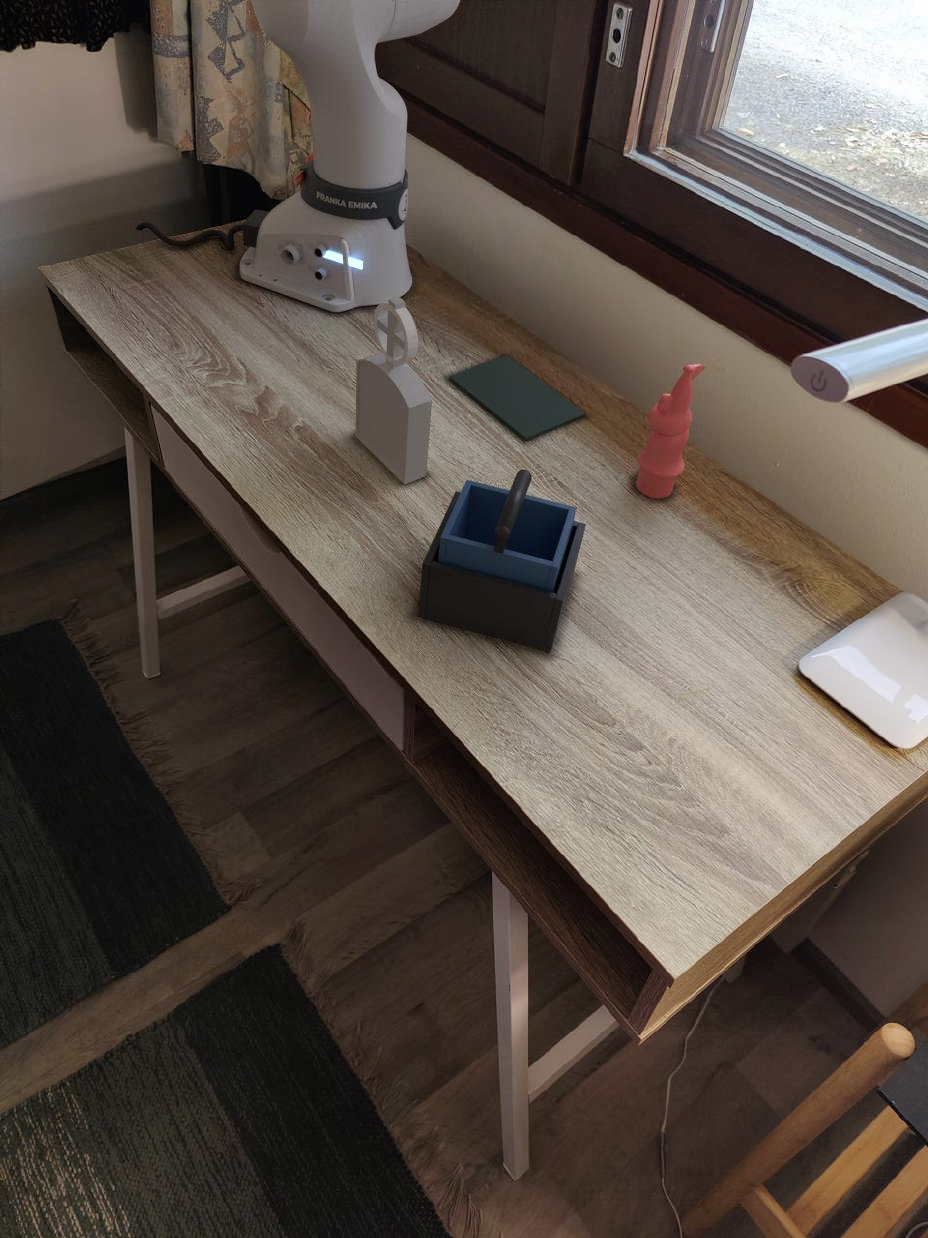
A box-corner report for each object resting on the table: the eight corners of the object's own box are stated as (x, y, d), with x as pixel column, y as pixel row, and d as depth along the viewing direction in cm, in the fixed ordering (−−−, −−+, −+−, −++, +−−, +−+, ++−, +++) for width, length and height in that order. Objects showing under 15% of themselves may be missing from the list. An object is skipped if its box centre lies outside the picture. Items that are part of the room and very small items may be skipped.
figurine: (648, 464, 105) (684, 343, 94) (686, 487, 103) (727, 366, 92) (620, 483, 102) (653, 360, 91) (658, 507, 100) (697, 385, 89)
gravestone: (376, 428, 105) (381, 274, 91) (426, 475, 100) (438, 320, 87) (355, 436, 103) (357, 280, 90) (404, 484, 99) (413, 327, 85)
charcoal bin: (417, 616, 86) (422, 563, 81) (449, 543, 93) (455, 490, 88) (550, 652, 85) (563, 601, 80) (573, 575, 92) (586, 523, 87)
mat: (448, 378, 112) (449, 375, 112) (506, 357, 117) (507, 354, 116) (525, 441, 106) (526, 438, 105) (584, 416, 110) (585, 413, 110)
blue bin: (432, 609, 86) (441, 515, 78) (459, 545, 92) (470, 452, 84) (541, 639, 85) (562, 547, 77) (561, 572, 91) (583, 480, 83)
